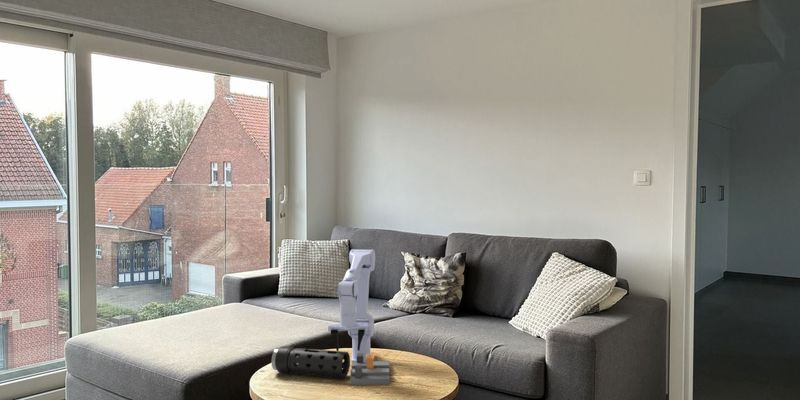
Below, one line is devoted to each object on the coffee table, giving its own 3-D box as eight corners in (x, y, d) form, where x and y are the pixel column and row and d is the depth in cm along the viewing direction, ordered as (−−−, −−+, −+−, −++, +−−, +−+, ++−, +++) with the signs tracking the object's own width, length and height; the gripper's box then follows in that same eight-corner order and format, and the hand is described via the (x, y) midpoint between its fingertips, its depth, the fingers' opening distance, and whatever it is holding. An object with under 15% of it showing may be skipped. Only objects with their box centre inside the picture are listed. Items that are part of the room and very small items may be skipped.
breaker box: (352, 366, 235) (352, 352, 235) (388, 366, 235) (388, 352, 235) (350, 384, 215) (349, 369, 215) (389, 384, 215) (389, 369, 215)
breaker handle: (366, 367, 227) (366, 354, 227) (374, 367, 227) (374, 354, 227) (366, 371, 223) (365, 357, 223) (374, 371, 223) (374, 357, 223)
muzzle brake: (341, 383, 217) (341, 355, 217) (270, 377, 225) (270, 350, 224) (350, 375, 227) (350, 347, 226) (282, 369, 234) (281, 342, 233)
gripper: (327, 316, 220) (327, 353, 220) (367, 315, 220) (367, 352, 221) (328, 311, 227) (329, 347, 227) (367, 311, 227) (368, 347, 228)
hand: (348, 349), depth 224 cm, fingers open, 7 cm apart
